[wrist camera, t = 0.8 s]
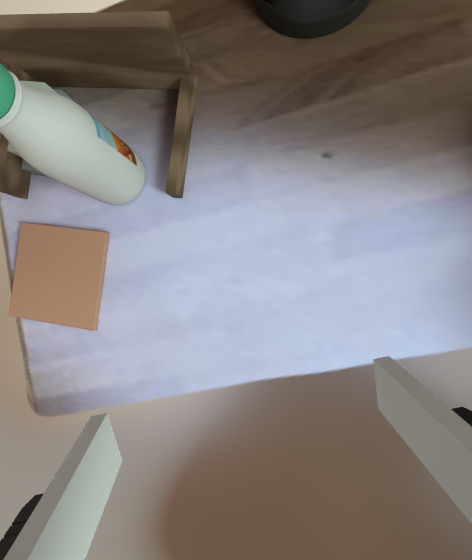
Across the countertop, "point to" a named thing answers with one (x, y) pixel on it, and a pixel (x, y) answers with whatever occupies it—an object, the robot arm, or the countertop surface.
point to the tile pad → (59, 275)
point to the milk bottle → (68, 142)
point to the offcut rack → (100, 70)
